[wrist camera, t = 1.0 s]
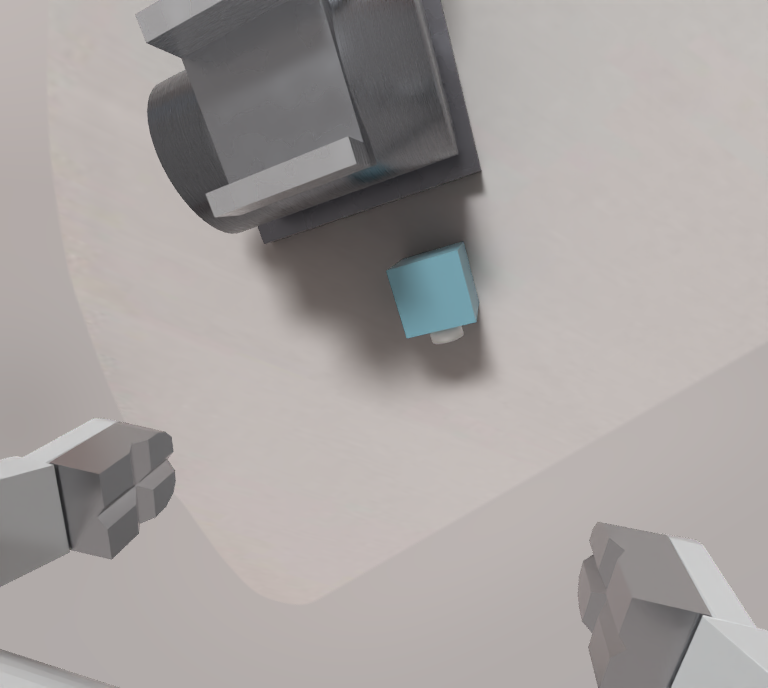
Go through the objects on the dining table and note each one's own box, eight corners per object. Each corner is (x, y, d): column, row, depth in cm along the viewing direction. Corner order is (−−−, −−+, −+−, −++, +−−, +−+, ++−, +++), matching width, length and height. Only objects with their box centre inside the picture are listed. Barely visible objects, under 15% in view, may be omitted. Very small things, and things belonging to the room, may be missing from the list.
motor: (433, -30, 29) (381, -220, 16) (481, 171, 32) (471, 154, 19) (203, 85, 35) (22, 17, 22) (262, 245, 38) (137, 272, 25)
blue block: (463, 241, 34) (457, 250, 29) (482, 316, 36) (480, 338, 30) (402, 258, 36) (386, 270, 30) (423, 330, 37) (411, 354, 32)
